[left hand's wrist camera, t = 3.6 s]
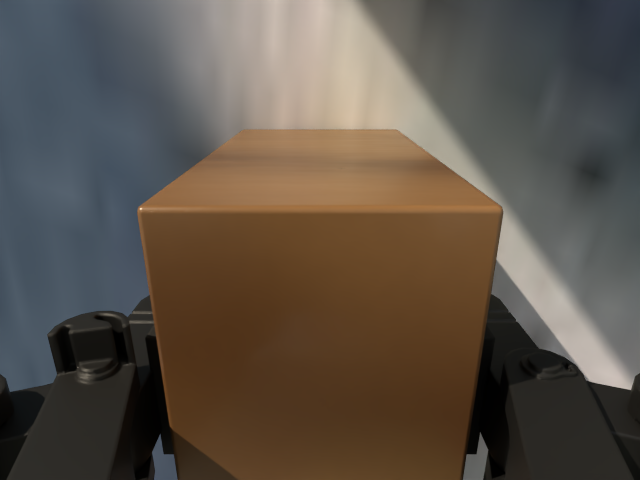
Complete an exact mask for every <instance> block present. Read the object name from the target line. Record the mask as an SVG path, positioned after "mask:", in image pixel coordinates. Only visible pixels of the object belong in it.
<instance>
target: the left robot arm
mask: <svg viewBox="0 0 640 480" xmlns="http://www.w3.org/2000/svg"><path fill="white" fill-rule="evenodd" d="M47 336H48V340H49V344H50V348H51V351H52V355H53V359H54V363H55V367H56V371H57V376H56V378H55V380H54V382H53V383H51V384H48V385H44V386H39V387H34V388H28V389H23V390H18V391H13V392H10V391H9V388H8V384H7V381H6V378H4V377H3V376H2V375H0V480H154V475H155V468H154V461H153V456H152V451H153V449H154V446H155V444H156V442H157V440H158V437H159V435H160V433H161V440H162V446H163V452H164V454H174V451H173V445H172V438H171V431H170V425H169V418H168V412H167V405H166V398H165V392H164V385H163V379H162V372H161V366H160V359H159V352H158V346H157V339H156V333H155V326H154V319H153V313H152V306H151V300H150V295H149V296H148V297H146V298H144V299H143V300H141V301H140V303H139V304H138V305H137V306H136V308H135V309H134V310H133V311H132V314H130V315H129V317H126V316H125V315H124V314H122V313H119V312H114V311H96V312H91V313H85V314H81V315H78V316H75V317H73V318H70V319H67V320H65V321H64V322H62V323H60V324H59V325H57V326H55V327H54V328H53V329H52V330H51V331H50V332H49V333H48V334H47ZM480 432H481V434H482V437H483V439H484V441H485V443H486V446H487V448H488V456H487V461H486V467H485V473H484V478H483V480H640V373H639V374H638V375H637V376H635V379H634V382H633V386H632V389H631V390H627V389H622V388H617V387H612V386H607V385H602V384H597V383H593V382H589V381H586V379H585V377H584V375H583V374H582V372H581V371H580V370H579V369H578V367H577V366H576V365H575V364H573V363H572V362H570V361H569V360H568V359H566V358H565V357H563V356H560V355H558V354H555V353H553V352H551V351H547V350H542V349H539V348H538V347H537V346H536V345H535V343H534V342H533V341H532V339H531V338H530V337H529V336H528V334H527V333H526V332H525V331H524V329H523V328H522V327H521V326H520V324H519V323H518V322H516V319H515V318H514V317H513V316H512V314H511V313H510V312H508V309H507V308H506V307H505V305H504V304H503V303H502V302H501V300H500V299H498V298H497V297H495V296H494V295H492V294H491V296H490V303H489V310H488V316H487V323H486V329H485V336H484V342H483V349H482V356H481V362H480V369H479V375H478V382H477V388H476V395H475V402H474V408H473V415H472V421H471V428H470V434H469V441H468V448H467V454H477V448H478V441H479V435H480Z"/></svg>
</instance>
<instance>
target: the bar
mask: <svg viewBox="0 0 640 480" xmlns="http://www.w3.org/2000/svg"><path fill="white" fill-rule="evenodd" d="M137 214H138V221H139V227H140V234H141V240H142V247H143V253H144V260H145V267H146V273H147V280H148V286H149V293H150V300H151V306H152V313H153V319H154V326H155V333H156V339H157V346H158V352H159V359H160V366H161V372H162V379H163V385H164V392H165V398H166V405H167V412H168V418H169V425H170V431H171V438H172V445H173V451H174V458H175V464H176V471H177V478H178V480H463V474H464V467H465V461H466V454H467V448H468V441H469V434H470V428H471V421H472V415H473V408H474V402H475V395H476V388H477V382H478V375H479V369H480V362H481V356H482V349H483V342H484V336H485V329H486V323H487V316H488V310H489V303H490V296H491V290H492V283H493V277H494V270H495V264H496V257H497V250H498V244H499V237H500V231H501V224H502V218H503V209H502V207H501V206H500V205H499V204H497V203H496V202H495V201H493V200H492V199H491V198H489V197H488V196H486V195H485V194H484V193H482V192H481V191H480V190H478V189H477V188H476V187H474V186H473V185H472V184H470V183H469V182H467V181H466V180H465V179H463V178H462V177H461V176H459V175H458V174H457V173H455V172H454V171H452V170H451V169H450V168H448V167H447V166H446V165H444V164H443V163H442V162H440V161H439V160H437V159H436V158H435V157H433V156H432V155H431V154H429V153H428V152H427V151H425V150H424V149H423V148H421V147H420V146H418V145H417V144H416V143H414V142H413V141H412V140H410V139H409V138H408V137H406V136H405V135H403V134H402V133H401V132H399V131H398V130H242V131H241V132H240V133H238V134H237V135H235V136H234V137H233V138H231V139H230V140H229V141H227V142H226V143H225V144H223V145H222V146H221V147H219V148H218V149H216V150H215V151H214V152H212V153H211V154H210V155H208V156H207V157H206V158H204V159H203V160H202V161H200V162H199V163H197V164H196V165H195V166H193V167H192V168H191V169H189V170H188V171H187V172H185V173H184V174H183V175H181V176H180V177H178V178H177V179H176V180H174V181H173V182H172V183H170V184H169V185H168V186H166V187H165V188H164V189H162V190H161V191H159V192H158V193H157V194H155V195H154V196H153V197H151V198H150V199H149V200H147V201H146V202H145V203H143V204H142V205H140V206H139V208H138V211H137Z"/></svg>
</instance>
